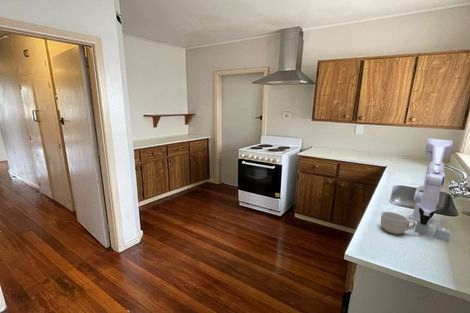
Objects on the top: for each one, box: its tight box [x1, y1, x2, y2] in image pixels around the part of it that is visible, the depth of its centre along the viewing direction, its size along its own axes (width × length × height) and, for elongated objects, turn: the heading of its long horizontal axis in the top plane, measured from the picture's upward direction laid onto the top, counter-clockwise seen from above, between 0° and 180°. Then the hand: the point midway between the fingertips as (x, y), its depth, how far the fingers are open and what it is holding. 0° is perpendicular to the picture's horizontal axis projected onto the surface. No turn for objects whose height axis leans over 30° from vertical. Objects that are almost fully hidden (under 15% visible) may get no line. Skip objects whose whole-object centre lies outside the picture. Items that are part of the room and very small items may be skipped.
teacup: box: [380, 211, 417, 235], centre depth 110 cm, size 14×11×8 cm
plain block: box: [414, 220, 430, 236], centre depth 111 cm, size 4×4×4 cm
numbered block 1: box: [434, 225, 451, 243], centre depth 106 cm, size 4×4×5 cm
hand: (423, 223), depth 110 cm, fingers closed, pressing on plain block
